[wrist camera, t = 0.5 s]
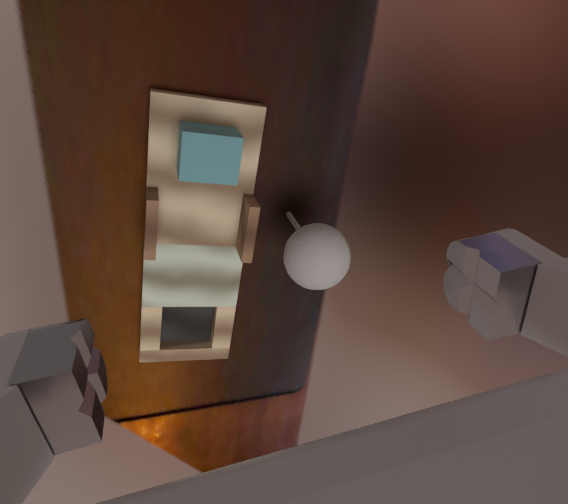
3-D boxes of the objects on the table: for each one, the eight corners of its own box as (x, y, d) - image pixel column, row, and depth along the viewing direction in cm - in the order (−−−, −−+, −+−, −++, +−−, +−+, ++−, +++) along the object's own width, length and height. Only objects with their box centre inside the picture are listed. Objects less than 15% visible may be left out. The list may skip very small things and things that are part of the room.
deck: (150, 88, 46) (150, 98, 41) (262, 103, 50) (275, 115, 44) (139, 352, 61) (139, 383, 56) (225, 349, 65) (232, 378, 60)
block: (179, 120, 46) (182, 131, 42) (236, 127, 48) (243, 138, 44) (176, 166, 48) (178, 180, 45) (230, 171, 50) (237, 185, 46)
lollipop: (319, 227, 59) (366, 288, 47) (269, 245, 59) (303, 312, 46) (307, 179, 55) (355, 232, 43) (254, 198, 55) (286, 257, 42)
